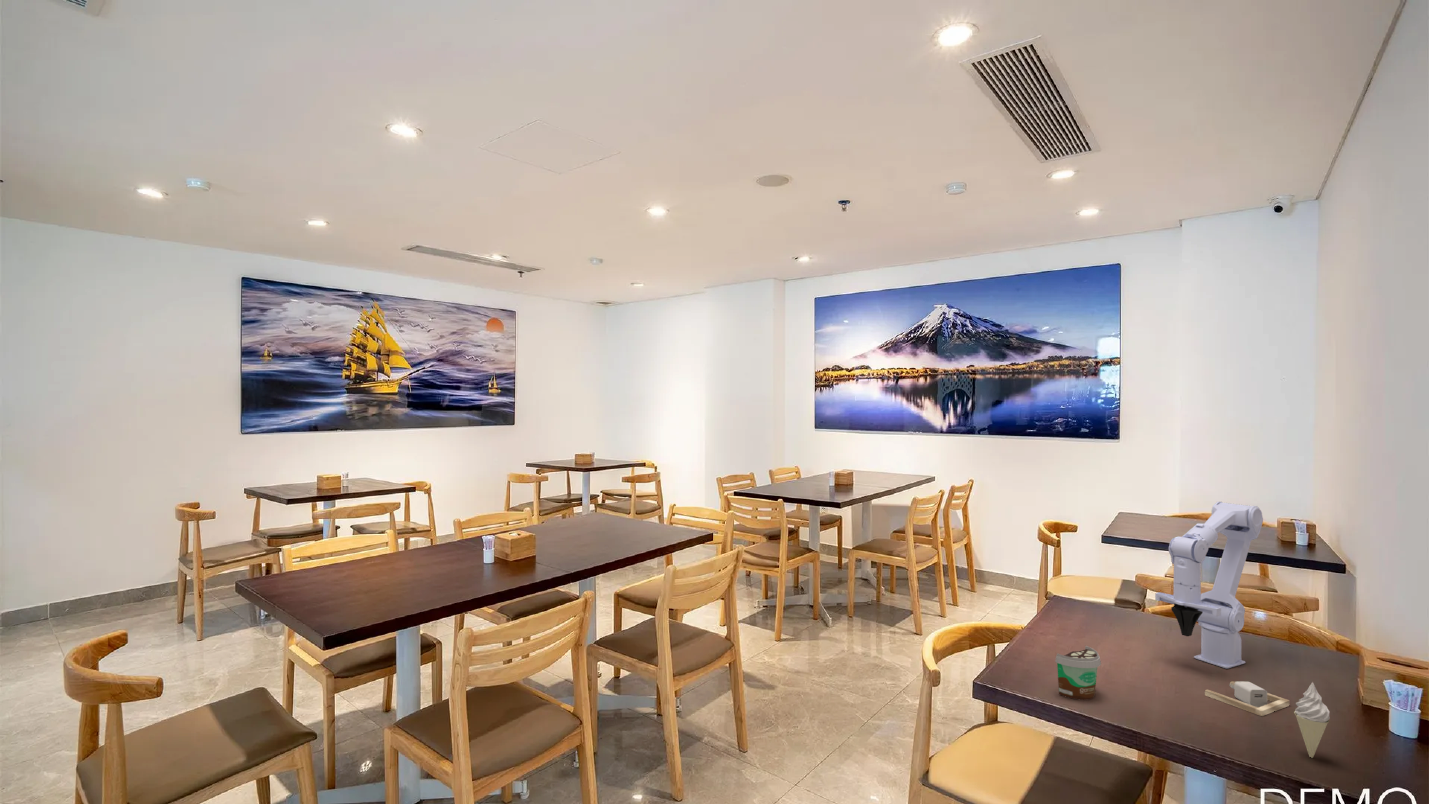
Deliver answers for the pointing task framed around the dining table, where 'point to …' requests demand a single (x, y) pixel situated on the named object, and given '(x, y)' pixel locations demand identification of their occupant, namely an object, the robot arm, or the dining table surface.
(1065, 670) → the food container
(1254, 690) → the usb wall charger
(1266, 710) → the charger bay
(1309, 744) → the ice cream cone
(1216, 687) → the dining table surface
